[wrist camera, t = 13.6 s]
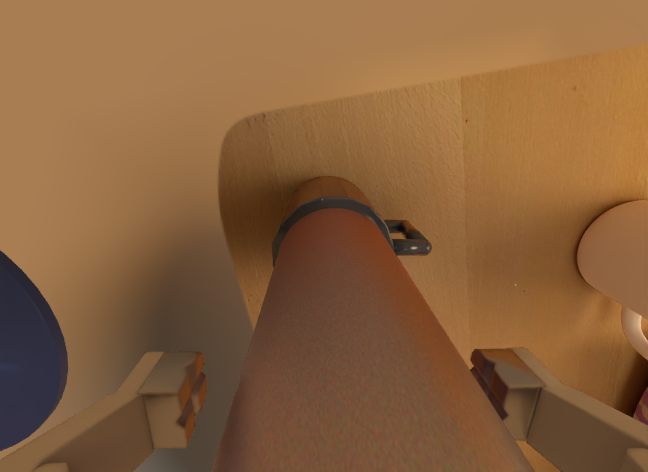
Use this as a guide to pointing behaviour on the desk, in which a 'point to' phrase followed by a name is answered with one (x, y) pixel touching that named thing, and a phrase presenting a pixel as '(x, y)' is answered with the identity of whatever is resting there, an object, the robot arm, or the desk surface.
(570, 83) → the desk surface
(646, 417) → the pencil case
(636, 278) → the cup
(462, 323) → the desk surface
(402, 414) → the beverage can
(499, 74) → the desk surface
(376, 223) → the mug
